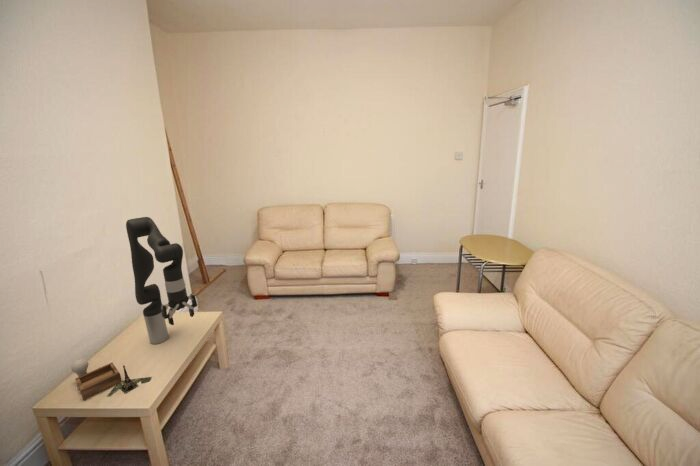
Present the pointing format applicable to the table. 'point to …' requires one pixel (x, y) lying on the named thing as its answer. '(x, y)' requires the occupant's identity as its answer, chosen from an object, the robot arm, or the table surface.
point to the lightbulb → (80, 367)
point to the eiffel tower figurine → (128, 384)
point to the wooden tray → (98, 380)
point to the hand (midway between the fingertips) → (182, 320)
